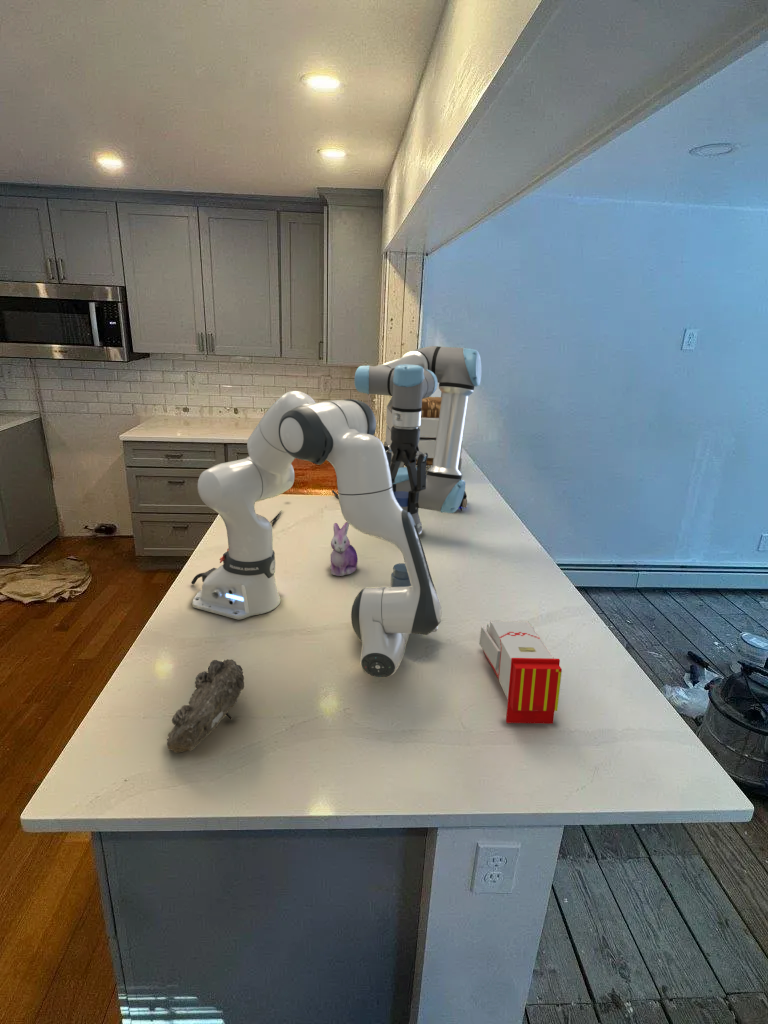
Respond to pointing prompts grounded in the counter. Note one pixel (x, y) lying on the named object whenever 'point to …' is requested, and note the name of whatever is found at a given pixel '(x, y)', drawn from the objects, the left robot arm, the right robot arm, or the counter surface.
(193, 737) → the fossil
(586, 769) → the counter surface
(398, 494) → the lid
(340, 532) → the figurine
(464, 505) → the figurine character
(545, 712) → the toy
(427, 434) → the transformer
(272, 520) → the feather
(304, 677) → the counter surface
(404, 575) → the grey tall cylinder
